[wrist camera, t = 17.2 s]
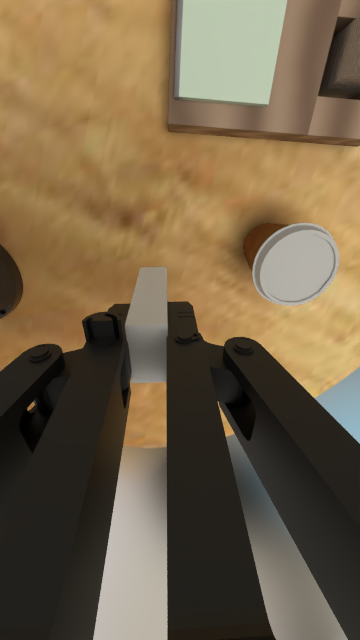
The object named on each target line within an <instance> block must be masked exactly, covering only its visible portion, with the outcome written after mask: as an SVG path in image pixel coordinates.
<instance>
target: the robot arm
mask: <svg viewBox="0 0 360 640" xmlns="http://www.w3.org/2000/svg"><path fill="white" fill-rule="evenodd" d="M22 290H23V286H22V279H21V275H20V273H19V270H18V268H17V266H16V264H15V262H14V261H13V259H12V258H11V257H10V255H9V254H8V253H7V252H6V251H5V250H4V249H3V248H2V247H1V246H0V319H1V318H3V317H5V316H6V315H7V314H8V313H10V312H11V311H12V310H13V309H14V308H15V307H16V306H17V305H18V303H19V302H20V299H21V296H22ZM82 324H83V328H84V333H85V337H86V343H85V345H84V347H83V348H82V349H78V350H75V351H70V352H66V353H63V352H62V348H61V347H59V346H58V345H55V344H42V345H37V346H35V347H32V348H30V349H28V350H27V351H25V352H23V353H22V354H21V355H20V356H19V357H17V358H16V359H15V360H14V361H12V362H11V363H10V364H9V365H8V366H6V367H5V368H4V369H3V370H2V371H0V640H93V635H94V629H95V622H96V616H97V609H98V603H99V597H100V590H101V583H102V577H103V570H104V564H105V557H106V551H107V545H108V539H109V532H110V526H111V519H112V513H113V506H114V499H115V493H116V486H117V480H118V473H119V467H120V461H121V454H122V448H123V441H124V435H125V428H126V422H127V415H128V409H129V402H130V396H131V389H130V378H132V383H151V382H167V571H168V572H167V573H168V574H167V580H168V582H167V585H168V586H167V587H168V640H276V639H275V637H274V635H273V632H272V629H271V626H270V624H269V620H268V617H267V613H266V609H265V605H264V600H263V596H262V592H261V587H260V583H259V579H258V575H257V570H256V566H255V562H254V557H253V553H252V549H251V544H250V540H249V536H248V531H247V527H246V523H245V518H244V514H243V510H242V505H241V501H240V497H239V493H238V488H237V484H236V480H235V475H234V471H233V467H232V463H231V458H230V454H229V449H228V445H227V441H226V436H225V432H224V428H223V423H222V419H221V415H220V410H219V406H218V402H219V405H220V407H221V409H222V411H223V413H224V415H225V416H226V418H227V420H228V422H229V424H230V425H231V427H232V429H233V431H234V433H235V434H236V436H237V438H238V440H239V442H240V444H241V445H242V447H243V449H244V451H245V453H246V455H247V456H248V458H249V460H250V462H251V464H252V465H253V467H254V469H255V471H256V473H257V474H258V476H259V478H260V480H261V482H262V484H263V486H264V487H265V489H266V491H267V493H268V495H269V496H270V498H271V500H272V502H273V504H274V505H275V507H276V509H277V511H278V513H279V515H280V517H281V518H282V520H283V522H284V524H285V525H286V527H287V529H288V531H289V533H290V535H291V537H292V538H293V540H294V542H295V544H296V545H297V547H298V549H299V551H300V553H301V555H302V557H303V558H304V560H305V562H306V564H307V565H308V567H309V569H310V571H311V573H312V575H313V577H314V578H315V580H316V582H317V584H318V586H319V588H320V589H321V591H322V593H323V595H324V597H325V598H326V600H327V602H328V604H329V606H330V608H331V609H332V611H333V613H334V615H335V617H336V618H337V620H338V622H339V624H340V626H341V627H342V629H343V631H344V633H345V635H346V637H347V638H348V640H360V444H359V443H358V442H357V441H356V440H355V439H354V438H353V437H352V436H351V435H350V434H349V433H348V432H347V431H346V430H345V429H344V428H343V427H342V426H341V425H340V424H339V423H338V422H337V421H336V420H335V419H334V418H333V417H332V416H331V415H330V414H329V413H328V412H327V411H326V410H325V409H324V408H323V407H322V406H321V405H320V404H319V403H318V402H317V401H316V400H315V399H314V398H313V397H312V396H311V395H310V394H309V393H308V392H307V391H306V390H305V389H304V388H303V387H302V386H301V385H300V384H299V383H298V382H297V381H296V380H295V379H294V378H293V377H292V376H291V375H290V374H289V373H288V372H287V371H286V370H285V369H284V367H283V366H282V365H281V364H280V363H279V362H278V361H277V360H276V359H275V358H274V357H273V356H272V355H271V354H270V353H269V352H268V351H267V350H266V349H265V348H264V347H263V346H262V345H261V344H259V343H258V342H256V341H255V340H252V339H250V338H246V337H234V338H231V339H228V340H227V341H226V342H225V344H224V346H219V345H214V344H210V343H208V342H206V341H204V340H203V337H202V336H201V334H200V333H198V329H197V324H196V319H195V315H194V310H193V306H192V305H191V304H190V303H189V302H167V269H166V267H141V268H140V271H139V275H138V279H137V282H136V286H135V290H134V293H133V297H132V301H131V304H114V305H113V306H112V307H111V308H109V309H108V312H99V313H95V314H92V315H89V316H88V317H86V318H85V319H84V320H83V321H82ZM33 401H34V403H35V406H34V407H33V408H32V409H31V410H29V411H27V408H28V407H29V405H30V404H31V403H32V402H33ZM217 401H218V402H217Z"/></svg>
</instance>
